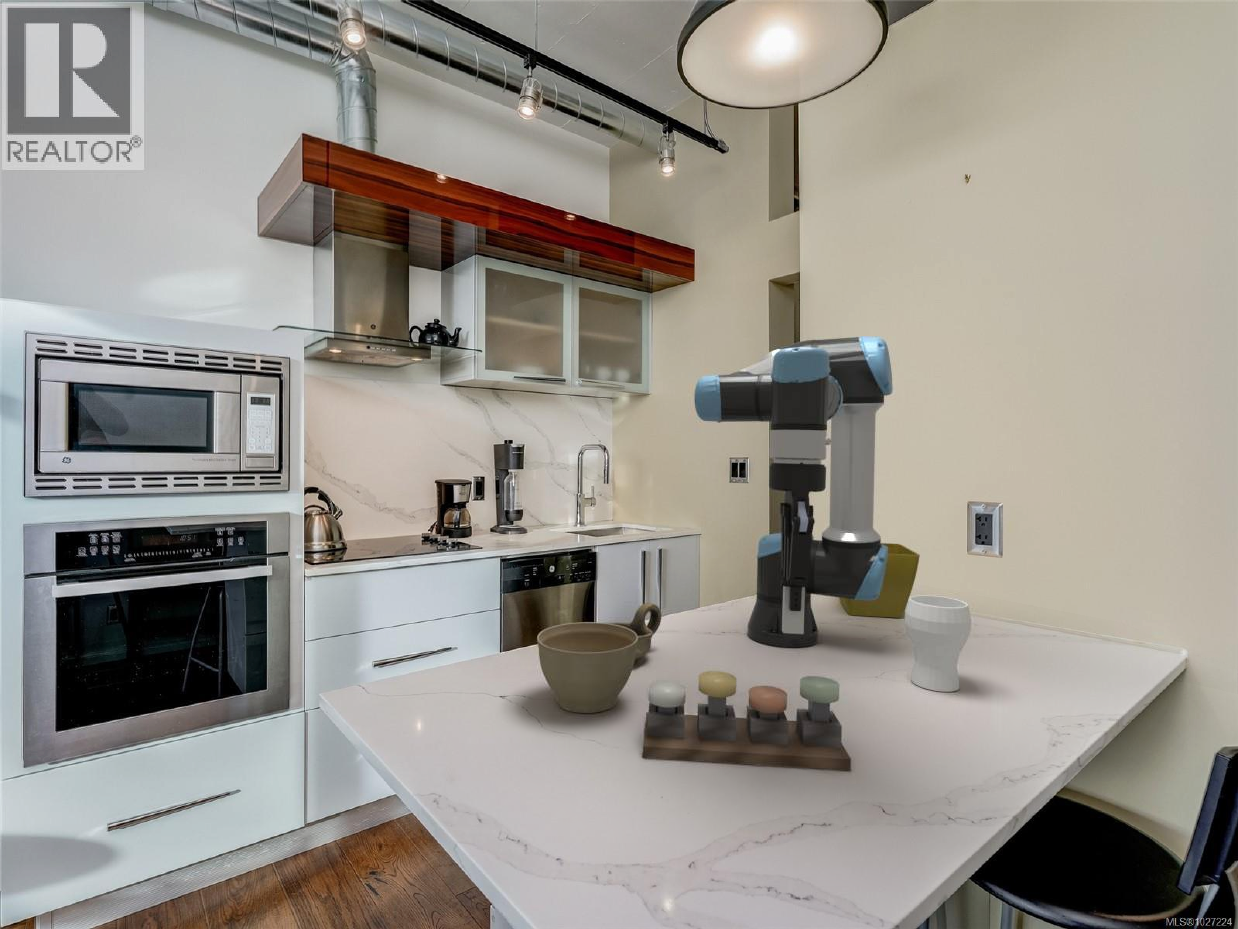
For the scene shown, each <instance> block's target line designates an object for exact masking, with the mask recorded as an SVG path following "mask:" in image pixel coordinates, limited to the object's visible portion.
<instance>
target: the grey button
mask: <svg viewBox="0 0 1238 929" xmlns="http://www.w3.org/2000/svg"><path fill="white" fill-rule="evenodd" d="M647 693H648V694H647V695H648V696H647V697H648V701H649V702H650V703H652V704H654V705H656V706H658V712H659V713H675V707H678V706H681V705H683V704H684V705H685V703H686V686H685V685H684V684H683V683H680V682H677V681H674V680H656V681H653V682H651V683H649V685H648V692H647ZM649 702H648V703H649Z"/></svg>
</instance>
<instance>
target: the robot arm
mask: <svg viewBox="0 0 1238 929" xmlns="http://www.w3.org/2000/svg"><path fill="white" fill-rule="evenodd" d="M889 352H890V351H889V348H888V345H887V342H886V341H885V340H884V338H881V337H878V336H856V337H839V338H827V339H825V338H824V339H807V340H803V341H797V342H794V343H791V344H788V345H785V346H782V347H779V348H777V349H775V350H772V351H770V352H768V353H766V354H765V355H764V356H762V358H761V359H760V360H759V362H756V363H753V364H752V365H750V366H747V367H744V368H742V369H740V370H737V371H735V372H732V373H729V374H718V373H717V374H716V373H715V374H714V375H703V376H701V377H700V378H698V381H697V383H696V384H695V389H694V397H693V398H694V400H693V401H694V408H695V411H696V414H697V416H698V418H699V419H700V420H702V421H704V422H717V424H719V423H724V422H725V423H726V422H731V423H734V422H736V423H737V422H739V423H740V422H741V423H742V422H746V423H747V422H762V423H763V422H766V423H767V422H769V423H770V430H769V455H768V456H769V458H770V459H772V460H773V463H772V462H771V463H770V464H769V471H768V472H769V474H768V486H769V489H770V490H772V491H779V492H785V494H784V499H783V500H784V502H780V503H779V514H780V530H781V531H780V532H775V533H771V534H766V535H764V536H761V538H760V539H759V540H758V548H757V555H756V559H757V560H756V561H757V566H756V567H757V568H756V569H757V570H756V601H755V603H754V607H753V609H752V611H751V615H750V617H749V620H748V622H747V633H746V634H747V636H748V638H750V639H751V640H753V641H756V642H757V643H760V644H764V645H769V646H773V647H774V646H775V647H782V648H804V647H810V646H814V645H816V644H817V643H818V642H819V630H818V629H819V628H818V626H817V623H816V619H815V615H814V613H813V609H812V602H811V601H812V595H818V596H825V597H831V598H833V597H834V598H839V597H840V598H848V599H854V600H869V601H872V600H875V599H877V598H878V597H879V595H880V592H881V588H882V584H883V580H884V575H885V570H886V564H887V557H888V547H887V546H885V545H881V543H882V536H881V535H880V534H879V533H878V532H877V530H875V529H874V507H875V506H874V502H875V498H874V497H875V496H874V495H875V462H876V460H875V456H876V455H875V454H876V417H877V416H876V415H877V412H878V411H879V410H880V408H882V407H883V406H884V405H885V396H886V397H887V396H890V395H892V393H893V372H892V365H891V359H890V357H891V356H890V353H889ZM828 421H830V438H828V437H827V436H828V433H827V431H828ZM827 446H830V466H829V469H830V473H829V474H830V475H829V476H830V477H829V478H830V479H829V481H830V482H829V525H828V527H827V528H826V529H825V530H823V531H822V532H821V540H819V539H814V538H815V537H814V535H813V530H814V527H815V526H814V525H815V517H814V505H812V504H810V493H820V492H823V491H825V489H826V488H827V487H826V484H827V483H826V482H827V467H826V466H825V464H822V461H824V460H826V459H827Z"/></svg>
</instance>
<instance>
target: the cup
mask: <svg viewBox="0 0 1238 929" xmlns="http://www.w3.org/2000/svg"><path fill="white" fill-rule="evenodd" d="M970 612H971V611H970V607H969V605H968V603H967V602H965V601H963V600H960V599H956V598H953V597H946V596H941V595H929V594H928V595H927V594H922V595H921V594H919V595H918V594H917V595H912V596H911V595H910V597H909V599H908V602H907V605H906V607H905V609H904V626H905V628H906V633H907V635H908V638H909V640H910V642H911V644H912V647H913V653H914V654H913V655H914V663H913V669H912V672H911V677H910V678H911V679H910V680H911V682H912V683H913V684H914V685H916V686H918V687H920V688H922V689H923V688H924V689H927V690H931V691H935V692H943V693H945V692H946V693H947V692H948V693H949V692H955V691H959V690H960V680H959V673H958V662H959V659H960V658H959V656H960V653H961V652H962V650H963V648H964V647H966V646H965V645H966V644H967V642H968V639H969V638H970V634H971V630H972V617H971V613H970Z"/></svg>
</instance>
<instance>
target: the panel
mask: <svg viewBox="0 0 1238 929" xmlns="http://www.w3.org/2000/svg"><path fill="white" fill-rule="evenodd" d="M707 706H708V703H700V702H699V703H698V702H697V714H685V703H684V704H683V705H681V706H678V707H675V713H659V712H658V706H656V705H654V704H652V703H650V702H648V712H645V723H644V731H643V732H644V733H643V743H642V758H645V759H647V758H648V759H661V760H678V761H691V762H692V761H693V762H694V761H695V762H710V763H721V764H723V763H726V764H742V765H755V766H771V767H772V766H773V767H785V768H786V767H787V768H790V767H791V768H802V769H803V768H805V769H819V770H836V771H852V759H851V758H852V757H850V755H849V753H848V751H847V750H846V748H845V747H844V745H843V742H842V737H843V736H842V733H843V732H842V731H843V725H842V724H841V723H840V720H839V719H838V718H837V716H836V714H835V712H834V711H833V710H830V722H816V721H810V720H809V718H808V708H807V709H806V708H796V714H795V715H796V716H795V717H796V719H795V720H788V719H787V718H788V717H787V715H786V713H785V711H784V712H781V713H778V715H777V719H763V718H758V717H757V710H754V709H752V708H751V707H750V706H749V705H747V706H746V717H736V713H735V708H734V705H733V704H726V716H711V715H708V712H707Z"/></svg>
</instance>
